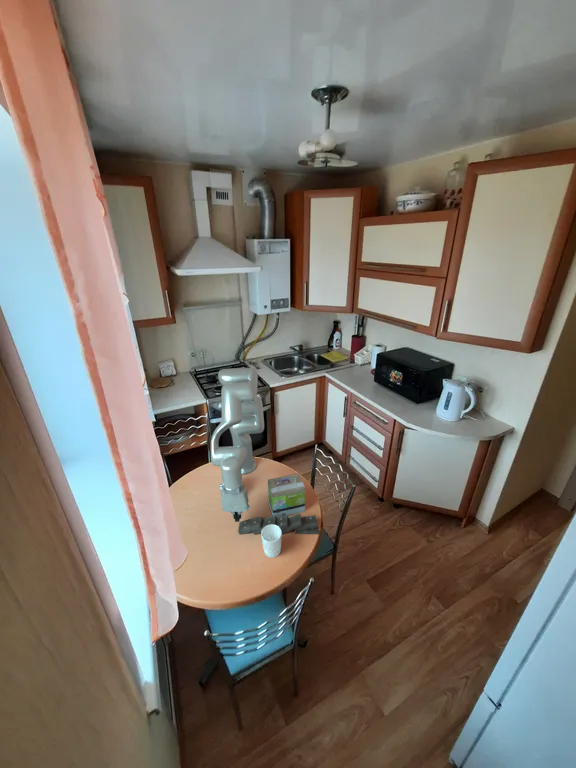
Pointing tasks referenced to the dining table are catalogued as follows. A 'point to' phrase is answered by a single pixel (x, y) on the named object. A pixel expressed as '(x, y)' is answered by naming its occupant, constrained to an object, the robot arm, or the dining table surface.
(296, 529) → the tile
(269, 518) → the tile
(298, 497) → the tea box
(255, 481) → the dining table surface
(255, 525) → the tile
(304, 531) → the tile
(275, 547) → the white cup
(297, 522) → the tile
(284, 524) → the tile
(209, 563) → the dining table surface
